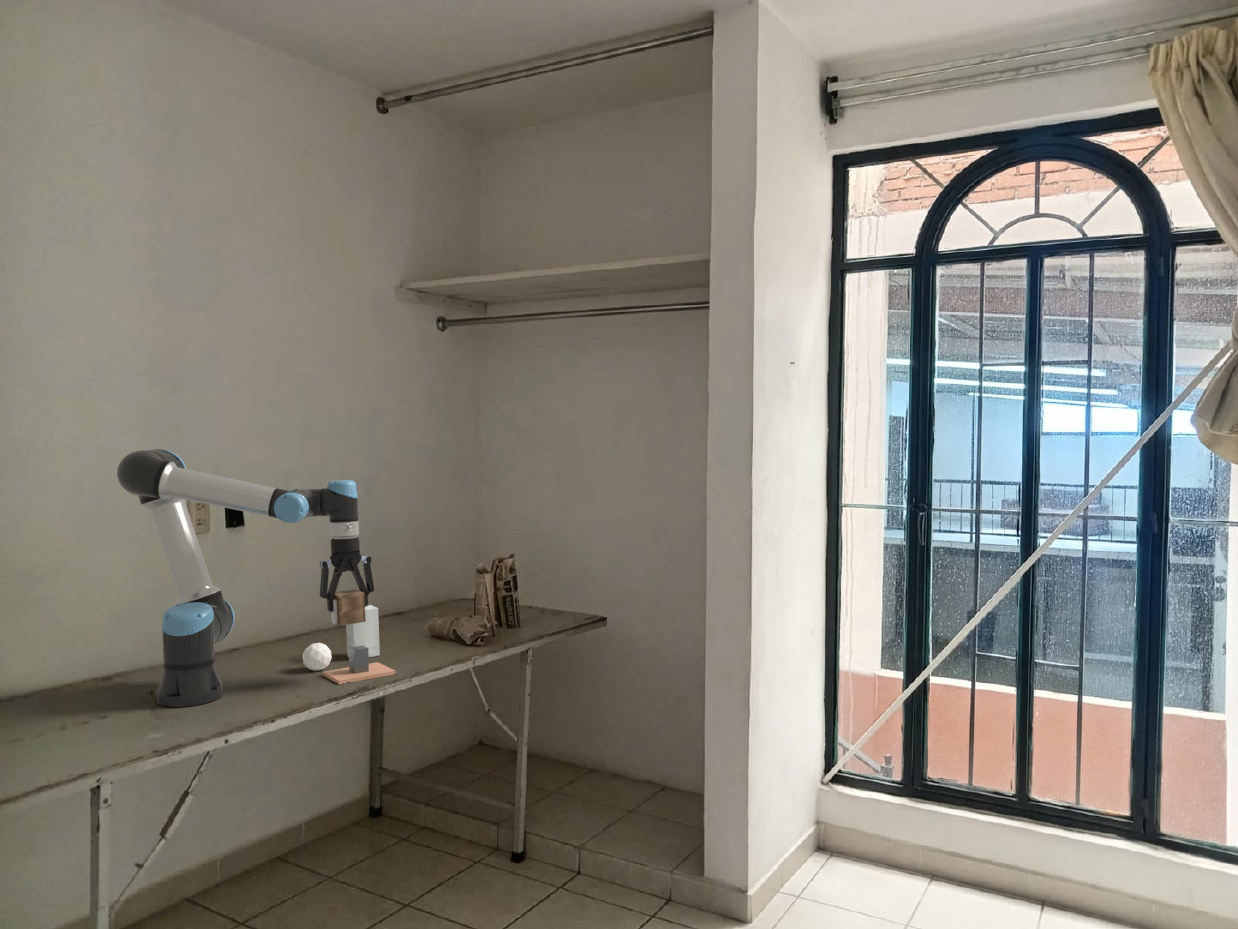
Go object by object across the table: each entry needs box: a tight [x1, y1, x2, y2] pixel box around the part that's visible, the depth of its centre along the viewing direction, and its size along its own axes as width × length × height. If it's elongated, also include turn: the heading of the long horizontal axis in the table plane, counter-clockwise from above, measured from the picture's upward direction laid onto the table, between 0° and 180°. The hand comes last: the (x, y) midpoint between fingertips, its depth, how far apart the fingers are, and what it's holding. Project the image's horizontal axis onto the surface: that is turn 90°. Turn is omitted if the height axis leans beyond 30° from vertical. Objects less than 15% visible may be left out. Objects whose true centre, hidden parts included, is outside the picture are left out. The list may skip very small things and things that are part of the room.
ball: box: [301, 642, 332, 672], centre depth 256 cm, size 8×8×8 cm
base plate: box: [322, 662, 396, 685], centre depth 251 cm, size 16×12×1 cm
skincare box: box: [345, 604, 381, 658], centre depth 271 cm, size 8×6×15 cm
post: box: [348, 645, 370, 674], centre depth 250 cm, size 4×4×6 cm
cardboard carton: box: [330, 589, 366, 626], centre depth 246 cm, size 7×7×8 cm
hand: (348, 620), depth 246 cm, fingers closed on cardboard carton, 7 cm apart
